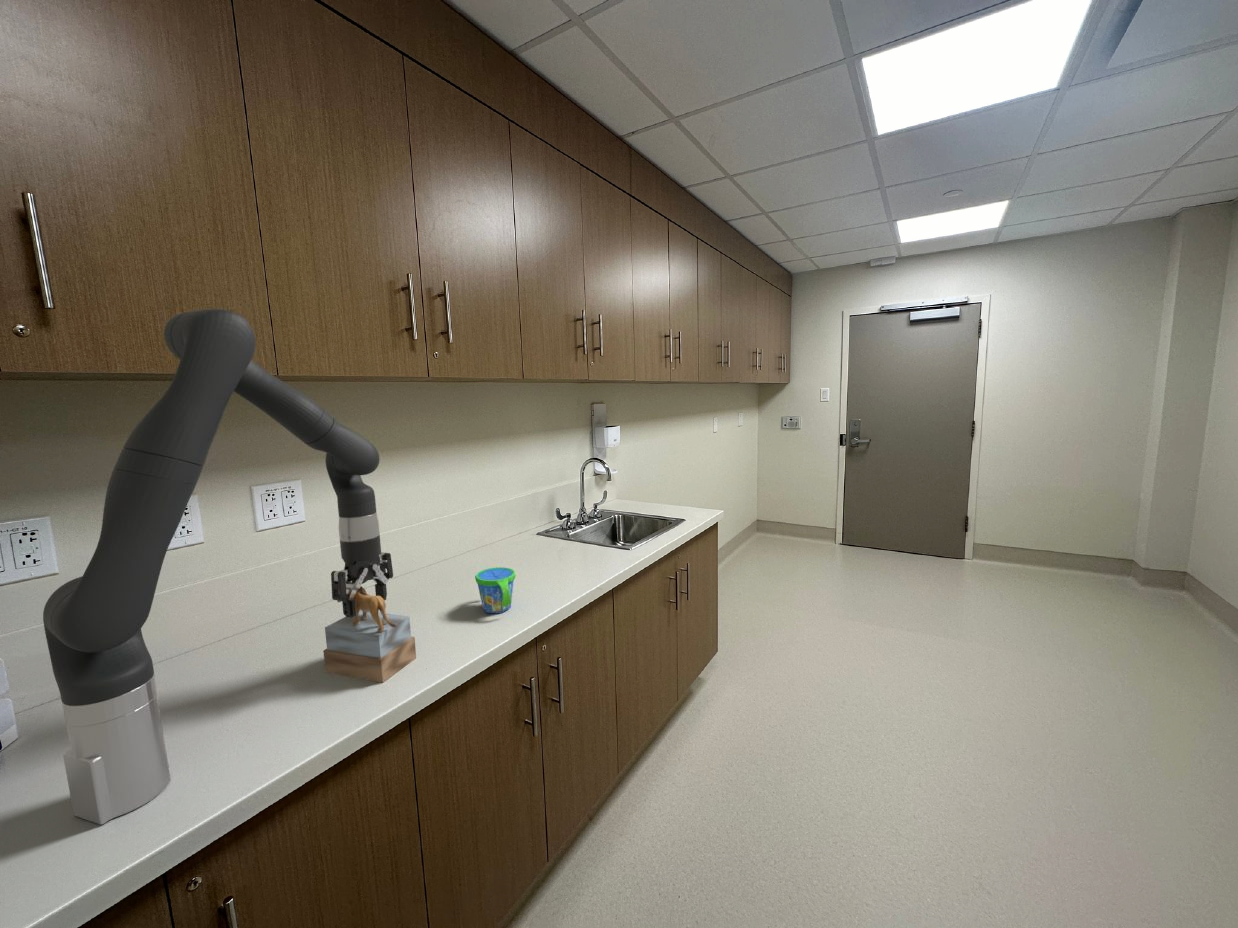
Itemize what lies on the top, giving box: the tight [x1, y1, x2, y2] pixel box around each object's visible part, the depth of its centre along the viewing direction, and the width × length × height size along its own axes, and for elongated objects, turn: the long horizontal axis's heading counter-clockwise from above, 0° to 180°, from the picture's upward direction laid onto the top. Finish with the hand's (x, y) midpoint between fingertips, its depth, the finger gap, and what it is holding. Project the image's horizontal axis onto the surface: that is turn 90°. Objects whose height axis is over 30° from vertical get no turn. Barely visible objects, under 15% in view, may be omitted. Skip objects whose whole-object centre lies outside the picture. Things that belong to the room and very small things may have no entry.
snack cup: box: [474, 566, 517, 614], centre depth 134 cm, size 16×10×10 cm
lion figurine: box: [336, 581, 397, 632], centre depth 104 cm, size 15×5×9 cm, turn 71°
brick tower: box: [323, 610, 417, 684], centre depth 106 cm, size 10×15×10 cm, turn 73°
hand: (366, 608), depth 105 cm, fingers open, 8 cm apart
